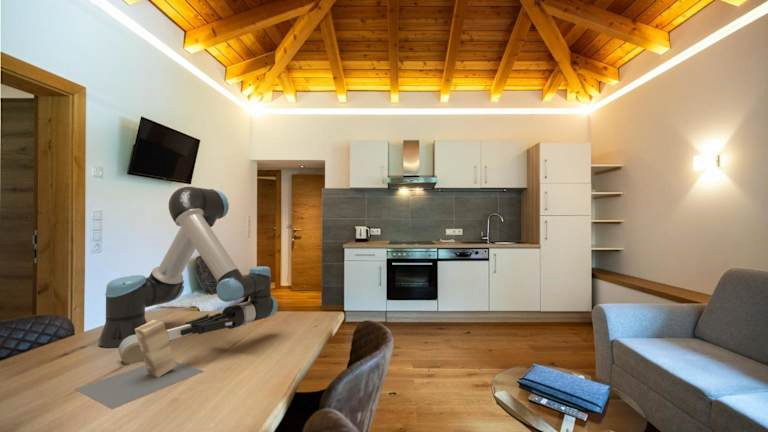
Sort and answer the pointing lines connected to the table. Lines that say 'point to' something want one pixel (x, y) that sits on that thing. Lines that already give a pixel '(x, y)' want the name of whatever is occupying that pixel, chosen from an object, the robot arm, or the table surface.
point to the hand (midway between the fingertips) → (167, 335)
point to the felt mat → (134, 385)
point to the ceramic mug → (130, 350)
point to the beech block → (155, 348)
